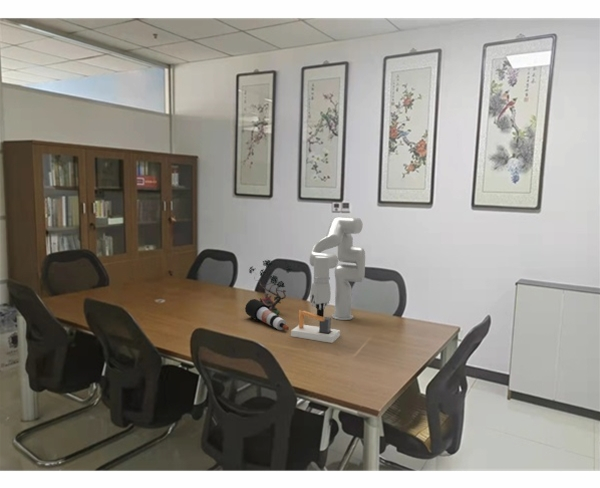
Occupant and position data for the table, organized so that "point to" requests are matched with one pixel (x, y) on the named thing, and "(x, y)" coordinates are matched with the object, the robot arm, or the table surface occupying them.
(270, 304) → the bonsai tree
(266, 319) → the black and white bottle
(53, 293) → the table surface
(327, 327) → the plug
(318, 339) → the socket block
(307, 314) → the orange piece
